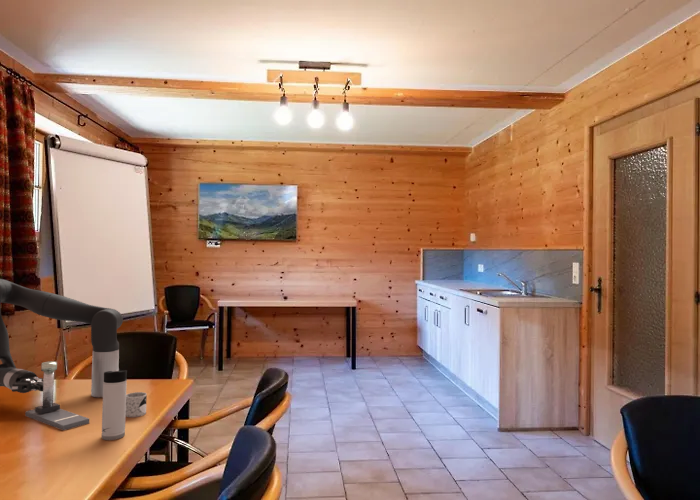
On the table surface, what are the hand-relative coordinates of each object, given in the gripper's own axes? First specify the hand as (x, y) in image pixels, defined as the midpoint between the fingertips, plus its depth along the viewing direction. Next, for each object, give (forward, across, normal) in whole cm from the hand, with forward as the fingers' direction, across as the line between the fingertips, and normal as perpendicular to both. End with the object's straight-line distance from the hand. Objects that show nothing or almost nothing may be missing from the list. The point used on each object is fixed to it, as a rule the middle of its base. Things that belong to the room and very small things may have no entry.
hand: (45, 387), depth 158 cm
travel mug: (+37, +2, +9) cm, 38 cm away
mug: (+23, +19, +9) cm, 31 cm away
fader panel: (+8, 0, +9) cm, 12 cm away
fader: (+2, 0, +7) cm, 8 cm away
